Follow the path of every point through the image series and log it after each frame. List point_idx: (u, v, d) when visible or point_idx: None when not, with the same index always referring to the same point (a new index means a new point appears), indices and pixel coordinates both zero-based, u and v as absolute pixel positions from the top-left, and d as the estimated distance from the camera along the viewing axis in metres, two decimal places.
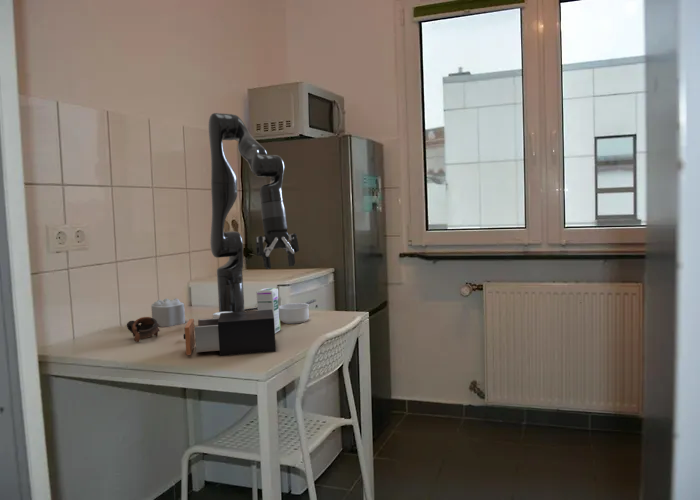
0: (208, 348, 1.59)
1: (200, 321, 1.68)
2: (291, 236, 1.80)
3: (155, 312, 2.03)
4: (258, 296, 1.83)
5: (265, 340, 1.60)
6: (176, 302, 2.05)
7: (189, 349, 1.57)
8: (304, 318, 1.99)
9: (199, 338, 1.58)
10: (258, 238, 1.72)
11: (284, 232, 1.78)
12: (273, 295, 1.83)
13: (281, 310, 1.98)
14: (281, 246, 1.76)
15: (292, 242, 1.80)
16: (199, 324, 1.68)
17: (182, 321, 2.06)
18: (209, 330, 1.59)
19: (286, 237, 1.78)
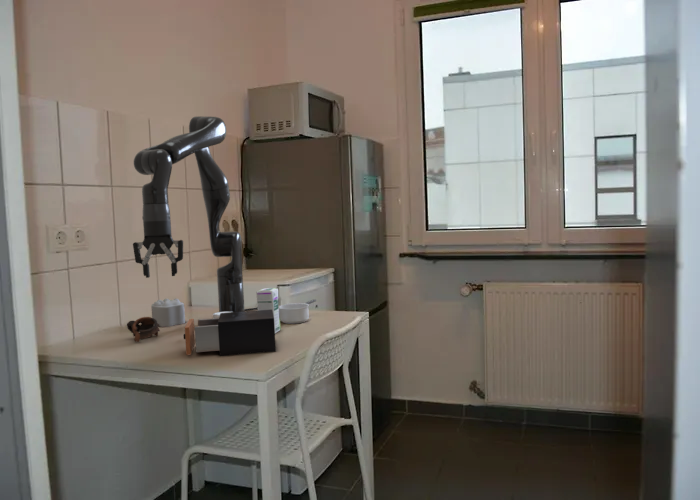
0: (208, 348, 1.59)
1: (200, 321, 1.68)
2: (177, 242, 1.62)
3: (155, 312, 2.03)
4: (258, 296, 1.83)
5: (265, 340, 1.60)
6: (176, 302, 2.05)
7: (189, 349, 1.57)
8: (304, 318, 1.99)
9: (199, 338, 1.58)
10: None
11: (166, 237, 1.61)
12: (273, 295, 1.83)
13: (281, 310, 1.98)
14: (161, 252, 1.61)
15: None
16: (199, 324, 1.68)
17: (182, 321, 2.06)
18: (209, 330, 1.59)
19: (168, 243, 1.61)
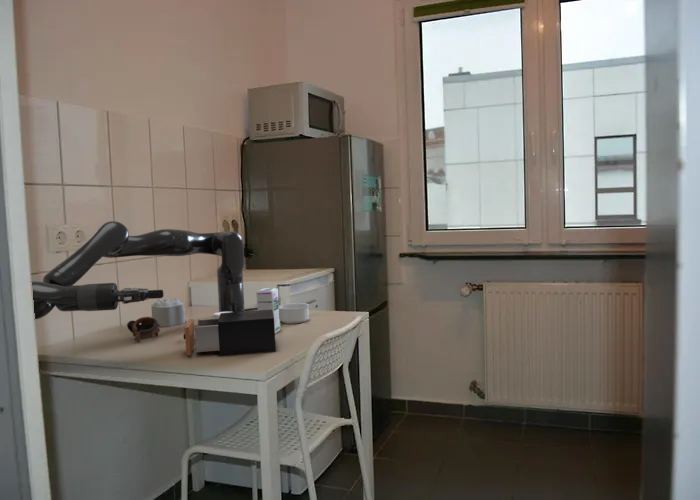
0: (208, 348, 1.59)
1: (200, 321, 1.68)
2: None
3: (155, 312, 2.03)
4: (258, 296, 1.83)
5: (265, 340, 1.60)
6: (176, 302, 2.05)
7: (189, 349, 1.57)
8: (304, 318, 1.99)
9: (199, 338, 1.58)
10: None
11: None
12: (273, 295, 1.83)
13: (281, 310, 1.98)
14: None
15: None
16: (199, 324, 1.68)
17: (182, 321, 2.06)
18: (209, 330, 1.59)
19: None
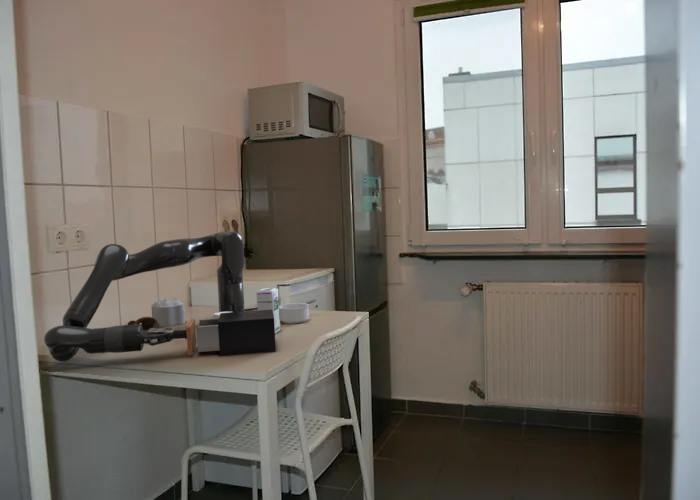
0: (209, 348, 1.59)
1: (201, 321, 1.68)
2: None
3: (155, 312, 2.03)
4: (258, 296, 1.83)
5: (265, 340, 1.60)
6: (176, 302, 2.05)
7: (190, 349, 1.57)
8: (304, 318, 1.99)
9: (200, 338, 1.58)
10: None
11: None
12: (273, 295, 1.83)
13: (281, 310, 1.98)
14: None
15: None
16: (200, 324, 1.68)
17: (182, 321, 2.06)
18: (210, 330, 1.59)
19: None
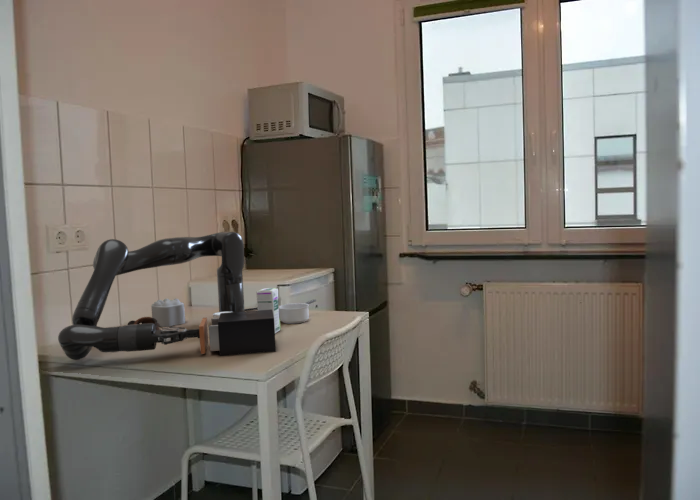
0: None
1: (213, 320, 1.69)
2: None
3: (155, 312, 2.03)
4: (258, 296, 1.83)
5: (265, 340, 1.60)
6: (176, 302, 2.05)
7: (203, 348, 1.58)
8: (304, 318, 1.99)
9: (213, 337, 1.59)
10: None
11: None
12: (273, 295, 1.83)
13: (281, 310, 1.98)
14: None
15: None
16: (212, 323, 1.69)
17: (182, 321, 2.06)
18: None
19: None
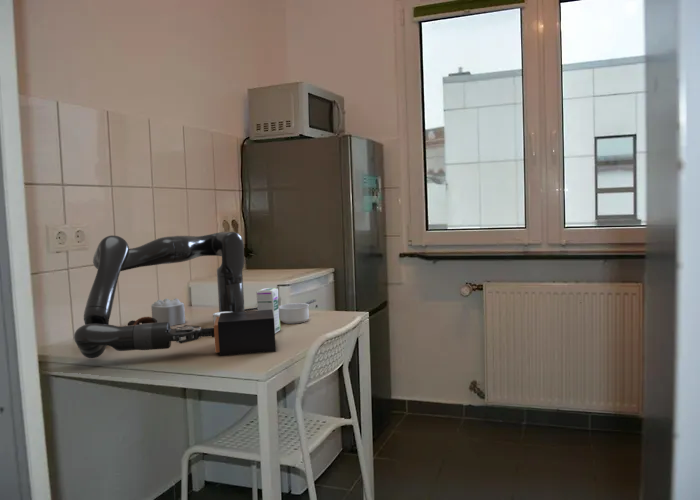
0: None
1: None
2: None
3: (155, 312, 2.03)
4: (258, 296, 1.83)
5: (265, 340, 1.60)
6: (176, 302, 2.05)
7: (218, 347, 1.59)
8: (304, 318, 1.99)
9: None
10: None
11: None
12: (273, 295, 1.83)
13: (281, 310, 1.98)
14: None
15: None
16: None
17: (182, 321, 2.06)
18: None
19: None
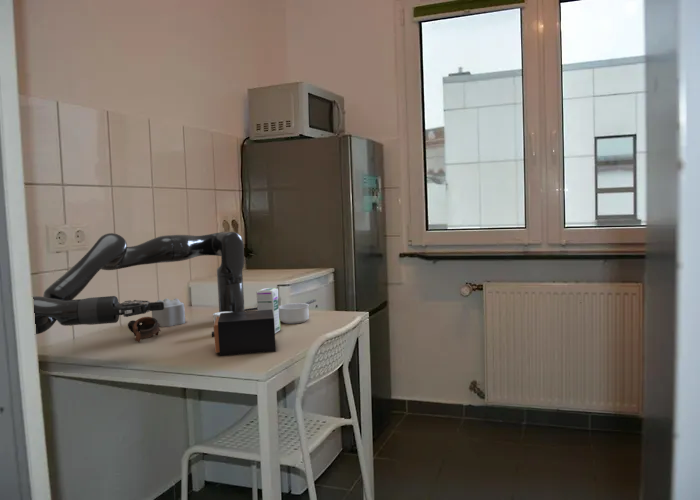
0: None
1: None
2: None
3: (155, 312, 2.03)
4: (258, 296, 1.83)
5: (265, 340, 1.60)
6: (176, 302, 2.05)
7: (218, 347, 1.59)
8: (304, 318, 1.99)
9: None
10: None
11: None
12: (273, 295, 1.83)
13: (281, 310, 1.98)
14: None
15: None
16: None
17: (182, 321, 2.06)
18: None
19: None
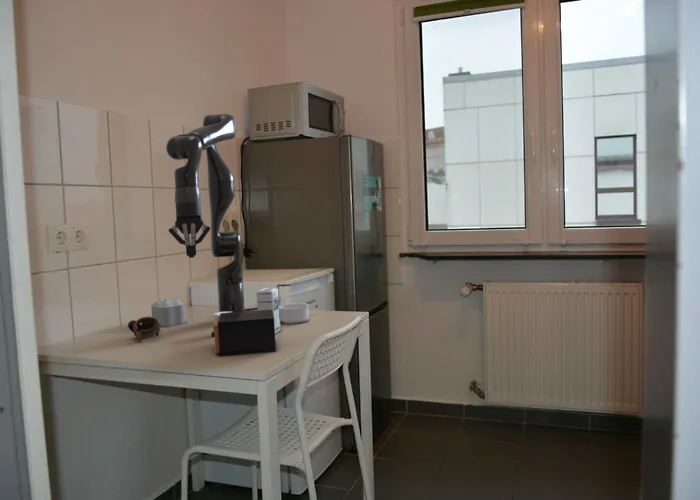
0: None
1: None
2: (205, 227, 1.73)
3: (155, 312, 2.03)
4: (258, 296, 1.83)
5: (265, 340, 1.60)
6: (176, 302, 2.05)
7: (218, 347, 1.59)
8: (304, 318, 1.99)
9: None
10: (169, 231, 1.71)
11: (197, 218, 1.72)
12: (273, 295, 1.83)
13: (281, 310, 1.98)
14: None
15: None
16: None
17: (182, 321, 2.06)
18: None
19: (199, 223, 1.72)
